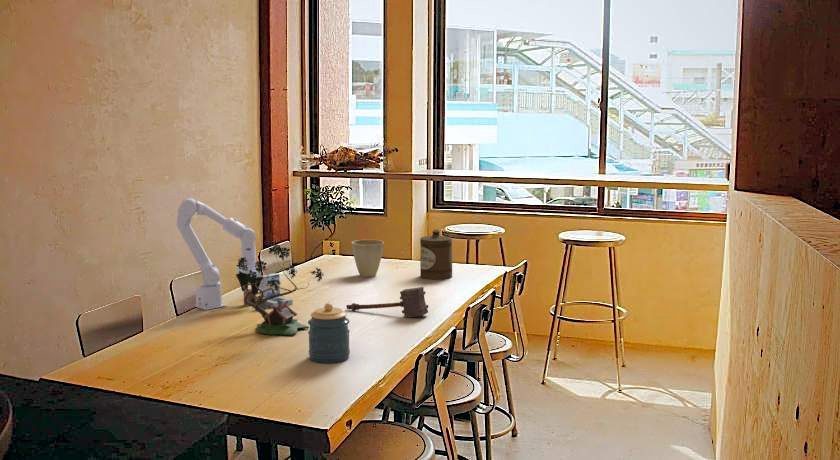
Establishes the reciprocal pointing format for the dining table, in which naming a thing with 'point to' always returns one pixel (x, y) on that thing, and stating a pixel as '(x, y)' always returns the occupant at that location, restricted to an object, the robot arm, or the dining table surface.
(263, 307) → the rubber stub
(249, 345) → the dining table surface
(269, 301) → the bore block
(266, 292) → the medicine box
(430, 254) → the wooden container
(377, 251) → the plant pot
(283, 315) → the bonsai tree
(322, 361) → the canister
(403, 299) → the hammer
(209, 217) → the robot arm
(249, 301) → the block
